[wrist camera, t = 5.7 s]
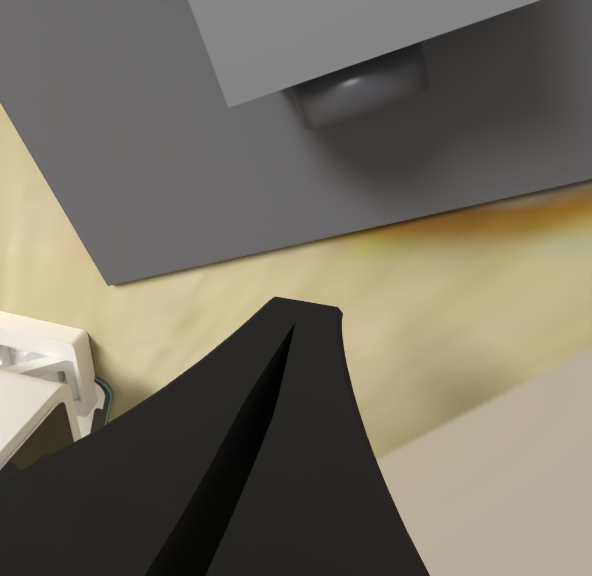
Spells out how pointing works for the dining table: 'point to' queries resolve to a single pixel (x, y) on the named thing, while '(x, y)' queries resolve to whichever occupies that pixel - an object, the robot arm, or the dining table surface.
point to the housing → (330, 49)
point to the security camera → (41, 389)
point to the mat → (279, 132)
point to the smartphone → (99, 412)
